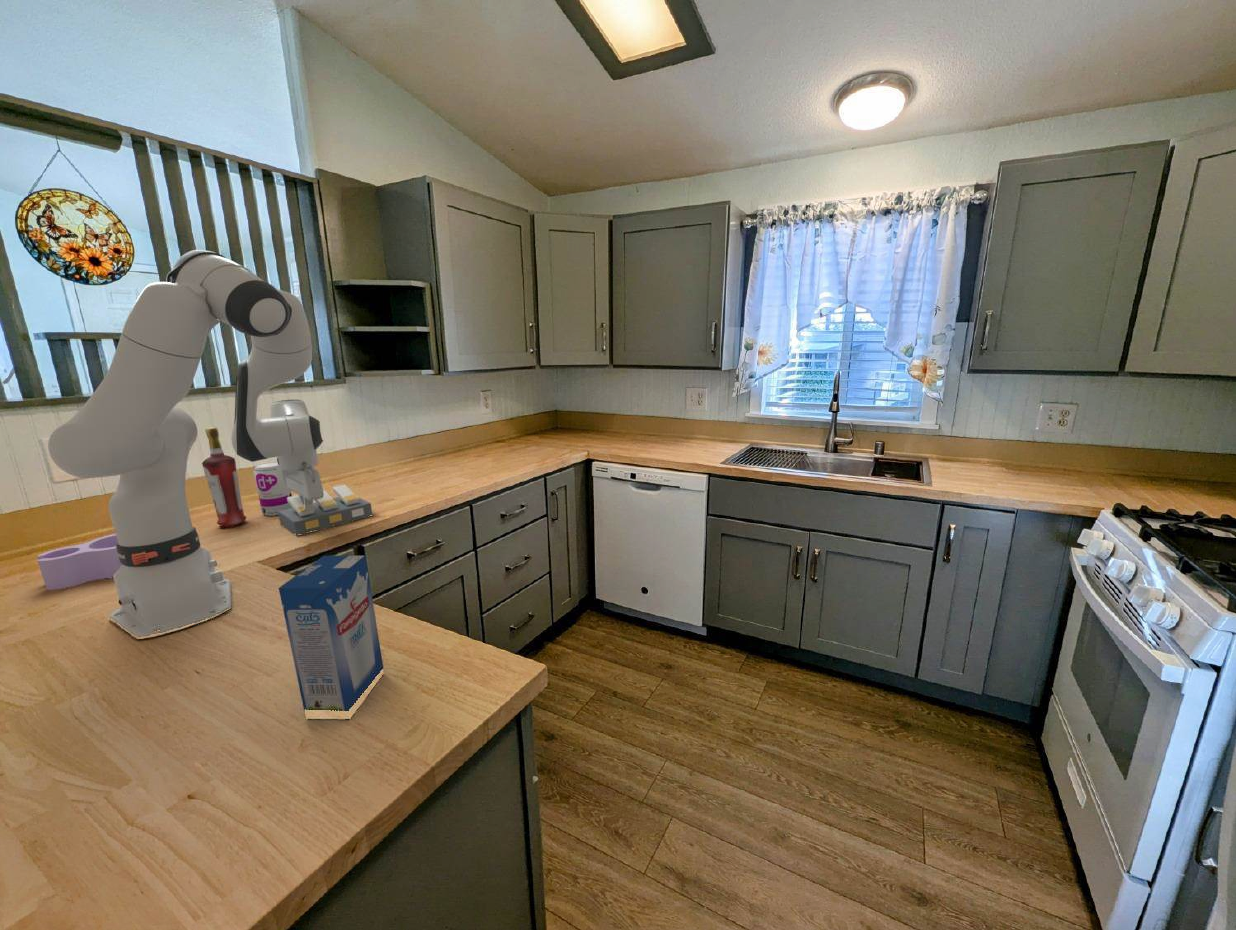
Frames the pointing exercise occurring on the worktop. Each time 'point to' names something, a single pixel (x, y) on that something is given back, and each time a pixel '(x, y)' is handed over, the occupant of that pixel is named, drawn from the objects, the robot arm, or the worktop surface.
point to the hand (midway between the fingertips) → (308, 509)
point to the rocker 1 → (298, 505)
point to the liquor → (223, 483)
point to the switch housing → (324, 516)
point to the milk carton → (332, 631)
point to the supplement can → (271, 488)
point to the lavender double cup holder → (80, 563)
